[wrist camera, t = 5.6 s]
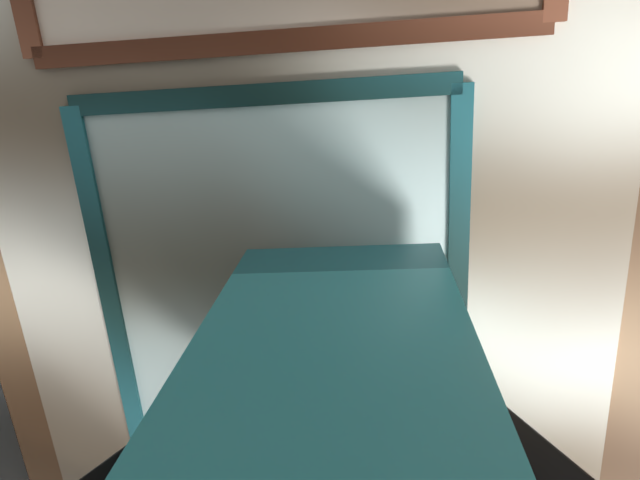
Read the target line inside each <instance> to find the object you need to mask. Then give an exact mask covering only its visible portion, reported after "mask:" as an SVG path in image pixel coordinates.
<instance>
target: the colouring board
mask: <svg viewBox="0 0 640 480" xmlns="http://www.w3.org/2000/svg"><path fill="white" fill-rule="evenodd" d="M424 243H440V245H441V247H442V250H443V252H444V254H445V257H446V259H447V262H448V264H449V267H450V269H451V272H452V274H453V277H454V279H455V281H456V284H457V286H458V289H459V291H460V294H461V296H462V299H463V301H464V304H465V306H466V308H467V311H468V313H469V316H470V318H471V321H472V323H473V326H474V328H475V331H476V333H477V335H478V338H479V340H480V343H481V345H482V348H483V350H484V353H485V355H486V358H487V360H488V362H489V365H490V367H491V370H492V372H493V375H494V377H495V380H496V382H497V385H498V387H499V389H500V392H501V394H502V397H503V399H504V402H505V404H506V406H507V407H508V408H509V409H510V410H512V411H513V412H514V413H515V414H516V415H518V416H519V417H520V418H521V419H523V420H524V421H525V422H526V423H527V424H529V425H530V426H531V427H532V428H534V429H535V430H536V431H537V432H538V433H540V434H541V435H542V436H543V437H544V438H546V439H547V440H548V441H549V442H551V443H552V444H553V445H554V446H555V447H557V448H558V449H559V450H560V451H561V452H563V453H564V454H565V455H566V456H568V457H569V458H570V459H571V460H572V461H574V462H575V463H576V464H577V465H578V466H580V467H581V468H582V469H583V470H585V471H586V472H587V473H588V474H589V475H591V476H592V477H593V478H594V479H595V480H640V0H0V382H1V386H2V389H3V393H4V396H5V399H6V403H7V406H8V409H9V413H10V416H11V419H12V423H13V426H14V429H15V433H16V436H17V440H18V443H19V446H20V450H21V453H22V456H23V460H24V463H25V466H26V470H27V473H28V476H29V480H79V479H80V478H81V477H83V476H84V475H86V474H87V473H88V472H90V471H91V470H92V469H94V468H95V467H97V466H98V465H99V464H101V463H102V462H103V461H105V460H106V459H108V458H109V457H110V456H112V455H113V454H114V453H116V452H117V451H119V450H120V449H121V448H123V447H124V446H125V445H127V443H128V441H129V440H130V438H131V437H132V435H133V433H134V432H135V430H136V428H137V427H138V425H139V424H140V422H141V420H142V419H143V417H144V416H145V414H146V412H147V411H148V409H149V407H150V406H151V404H152V403H153V401H154V399H155V398H156V396H157V394H158V393H159V391H160V390H161V388H162V386H163V385H164V383H165V382H166V380H167V378H168V377H169V375H170V373H171V372H172V370H173V369H174V367H175V365H176V364H177V362H178V360H179V359H180V357H181V356H182V354H183V352H184V351H185V349H186V348H187V346H188V344H189V343H190V341H191V339H192V338H193V336H194V335H195V333H196V331H197V330H198V328H199V326H200V325H201V323H202V322H203V320H204V318H205V317H206V315H207V313H208V312H209V310H210V309H211V307H212V305H213V304H214V302H215V301H216V299H217V297H218V296H219V294H220V292H221V291H222V289H223V288H224V286H225V284H226V283H227V281H228V279H229V278H230V276H231V275H232V273H233V271H234V270H235V268H236V267H237V265H238V263H239V262H240V260H241V258H242V257H243V255H244V254H245V252H246V250H247V249H275V248H305V247H334V246H364V245H394V244H424Z"/></svg>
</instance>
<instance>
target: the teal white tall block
mask: <svg viewBox="0 0 640 480" xmlns="http://www.w3.org/2000/svg"><path fill="white" fill-rule="evenodd" d="M105 480H536V478H535V475H534V473H533V470H532V468H531V466H530V463H529V461H528V458H527V456H526V453H525V451H524V448H523V446H522V443H521V441H520V439H519V436H518V434H517V431H516V429H515V426H514V424H513V421H512V419H511V416H510V414H509V412H508V409H507V407H506V404H505V402H504V399H503V397H502V394H501V392H500V389H499V387H498V385H497V382H496V380H495V377H494V375H493V372H492V370H491V367H490V365H489V362H488V360H487V358H486V355H485V353H484V350H483V348H482V345H481V343H480V340H479V338H478V335H477V333H476V331H475V328H474V326H473V323H472V321H471V318H470V316H469V313H468V311H467V308H466V306H465V304H464V301H463V299H462V296H461V294H460V291H459V289H458V286H457V284H456V281H455V279H454V277H453V274H452V272H451V269H450V267H449V264H448V262H447V259H446V257H445V254H444V252H443V250H442V247H441V245H440V243H424V244H394V245H364V246H334V247H305V248H275V249H247V250H246V252H245V254H244V255H243V257H242V258H241V260H240V262H239V263H238V265H237V267H236V268H235V270H234V271H233V273H232V275H231V276H230V278H229V279H228V281H227V283H226V284H225V286H224V288H223V289H222V291H221V292H220V294H219V296H218V297H217V299H216V301H215V302H214V304H213V305H212V307H211V309H210V310H209V312H208V313H207V315H206V317H205V318H204V320H203V322H202V323H201V325H200V326H199V328H198V330H197V331H196V333H195V335H194V336H193V338H192V339H191V341H190V343H189V344H188V346H187V348H186V349H185V351H184V352H183V354H182V356H181V357H180V359H179V360H178V362H177V364H176V365H175V367H174V369H173V370H172V372H171V373H170V375H169V377H168V378H167V380H166V382H165V383H164V385H163V386H162V388H161V390H160V391H159V393H158V394H157V396H156V398H155V399H154V401H153V403H152V404H151V406H150V407H149V409H148V411H147V412H146V414H145V416H144V417H143V419H142V420H141V422H140V424H139V425H138V427H137V428H136V430H135V432H134V433H133V435H132V437H131V438H130V440H129V441H128V443H127V445H126V446H125V448H124V450H123V451H122V453H121V454H120V456H119V458H118V459H117V461H116V463H115V464H114V466H113V467H112V469H111V471H110V472H109V474H108V475H107V477H106V479H105Z"/></svg>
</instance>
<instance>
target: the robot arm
mask: <svg viewBox="0 0 640 480" xmlns="http://www.w3.org/2000/svg"><path fill="white" fill-rule="evenodd" d="M506 407H507V406H506ZM507 409H508V412H509V414H510V416H511V419H512V421H513V424H514V426H515V429H516V431H517V434H518V436H519V439H520V441H521V443H522V446H523V448H524V451H525V453H526V456H527V458H528V461H529V463H530V466H531V468H532V470H533V473H534V475H535V478H536V480H595V479H594V478H593V477H592V476H591V475H589V474H588V473H587V472H586V471H585V470H583V469H582V468H581V467H580V466H578V465H577V464H576V463H575V462H574V461H572V460H571V459H570V458H569V457H568V456H566V455H565V454H564V453H563V452H561V451H560V450H559V449H558V448H557V447H555V446H554V445H553V444H552V443H551V442H549V441H548V440H547V439H546V438H544V437H543V436H542V435H541V434H540V433H538V432H537V431H536V430H535V429H534V428H532V427H531V426H530V425H529V424H527V423H526V422H525V421H524V420H523V419H521V418H520V417H519V416H518V415H516V414H515V413H514V412H513V411H512V410H510V409H509V408H508V407H507ZM125 446H126V445H125ZM125 446H124V447H123V448H121V449H120V450H119V451H117V452H116V453H114V454H113V455H112V456H110V457H109V458H108V459H106V460H105V461H103V462H102V463H101V464H99V465H98V466H97V467H95V468H94V469H92V470H91V471H90V472H88V473H87V474H86V475H84V476H83V477H81V478H80V479H79V480H105V479H106V477H107V475H108V474H109V472H110V471H111V469H112V467H113V466H114V464H115V463H116V461H117V459H118V458H119V456H120V454H121V453H122V451H123V450H124V448H125Z"/></svg>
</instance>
